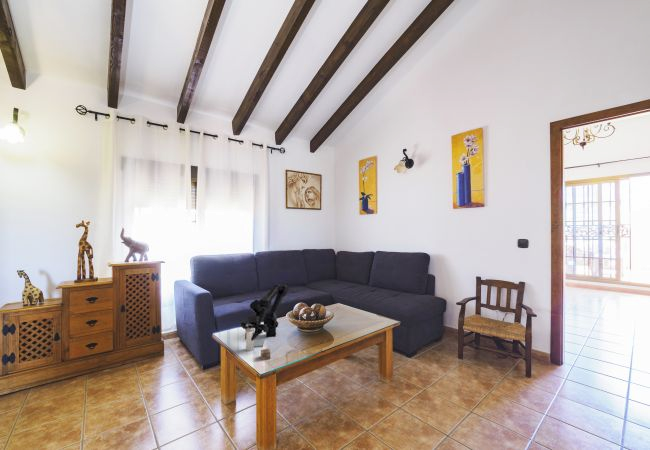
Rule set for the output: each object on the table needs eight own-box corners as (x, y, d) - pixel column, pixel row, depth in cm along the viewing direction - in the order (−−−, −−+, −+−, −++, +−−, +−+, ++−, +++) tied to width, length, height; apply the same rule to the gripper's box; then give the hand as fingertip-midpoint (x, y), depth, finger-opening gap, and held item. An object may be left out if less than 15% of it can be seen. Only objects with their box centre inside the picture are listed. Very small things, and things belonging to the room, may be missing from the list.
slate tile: (264, 340, 187) (264, 339, 187) (262, 346, 177) (262, 345, 177) (249, 341, 186) (249, 339, 186) (247, 347, 176) (246, 346, 176)
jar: (254, 347, 176) (254, 327, 176) (253, 350, 171) (253, 329, 171) (247, 348, 175) (246, 327, 175) (245, 351, 171) (245, 330, 171)
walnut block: (269, 355, 165) (269, 348, 165) (270, 359, 161) (270, 352, 161) (260, 356, 164) (260, 349, 164) (261, 360, 159) (261, 353, 159)
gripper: (241, 309, 180) (230, 332, 170) (265, 311, 174) (255, 336, 163) (249, 317, 188) (238, 339, 177) (272, 320, 181) (263, 344, 171)
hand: (248, 339), depth 172 cm, fingers closed on jar, 4 cm apart
